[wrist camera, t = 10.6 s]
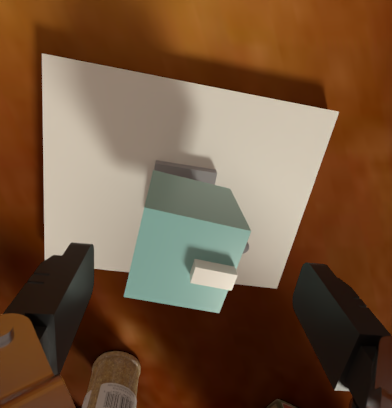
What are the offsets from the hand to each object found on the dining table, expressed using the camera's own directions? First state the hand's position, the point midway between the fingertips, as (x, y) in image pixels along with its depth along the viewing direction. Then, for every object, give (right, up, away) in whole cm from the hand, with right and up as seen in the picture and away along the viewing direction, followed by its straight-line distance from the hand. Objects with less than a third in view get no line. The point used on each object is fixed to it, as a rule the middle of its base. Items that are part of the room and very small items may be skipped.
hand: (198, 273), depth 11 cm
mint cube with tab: (-1, +2, +6) cm, 6 cm away
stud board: (-1, +4, +10) cm, 11 cm away
